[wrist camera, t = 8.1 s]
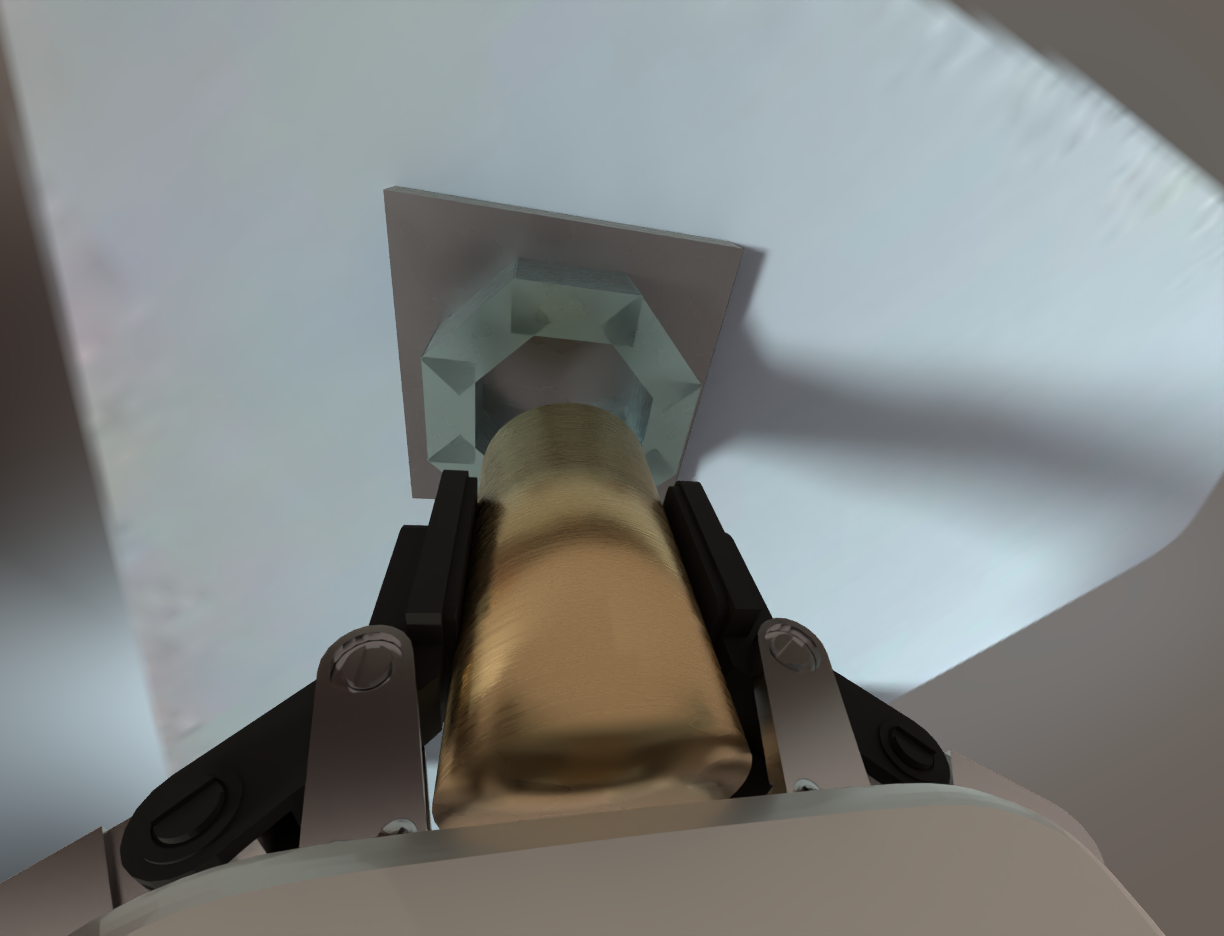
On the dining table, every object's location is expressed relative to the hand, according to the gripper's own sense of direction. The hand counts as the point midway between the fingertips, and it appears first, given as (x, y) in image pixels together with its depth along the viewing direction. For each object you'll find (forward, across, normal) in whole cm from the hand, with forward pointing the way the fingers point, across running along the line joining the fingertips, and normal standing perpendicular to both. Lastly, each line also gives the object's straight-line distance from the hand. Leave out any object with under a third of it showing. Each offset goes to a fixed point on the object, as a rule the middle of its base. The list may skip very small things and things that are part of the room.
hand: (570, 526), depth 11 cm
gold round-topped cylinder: (+2, 0, 0) cm, 2 cm away
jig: (+10, 0, 0) cm, 10 cm away
